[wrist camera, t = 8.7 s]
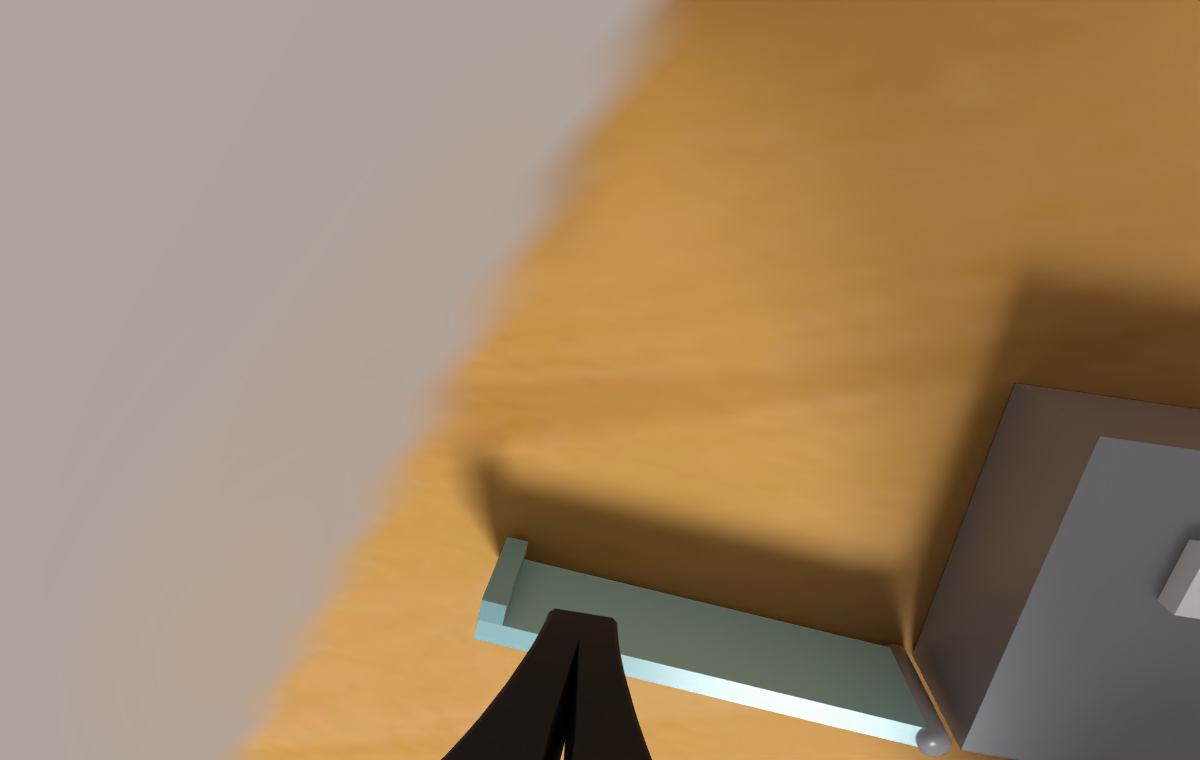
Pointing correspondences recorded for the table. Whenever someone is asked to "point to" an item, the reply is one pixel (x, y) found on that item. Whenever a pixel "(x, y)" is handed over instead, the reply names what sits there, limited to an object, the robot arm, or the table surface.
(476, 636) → the side door
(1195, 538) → the block
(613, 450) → the table surface
